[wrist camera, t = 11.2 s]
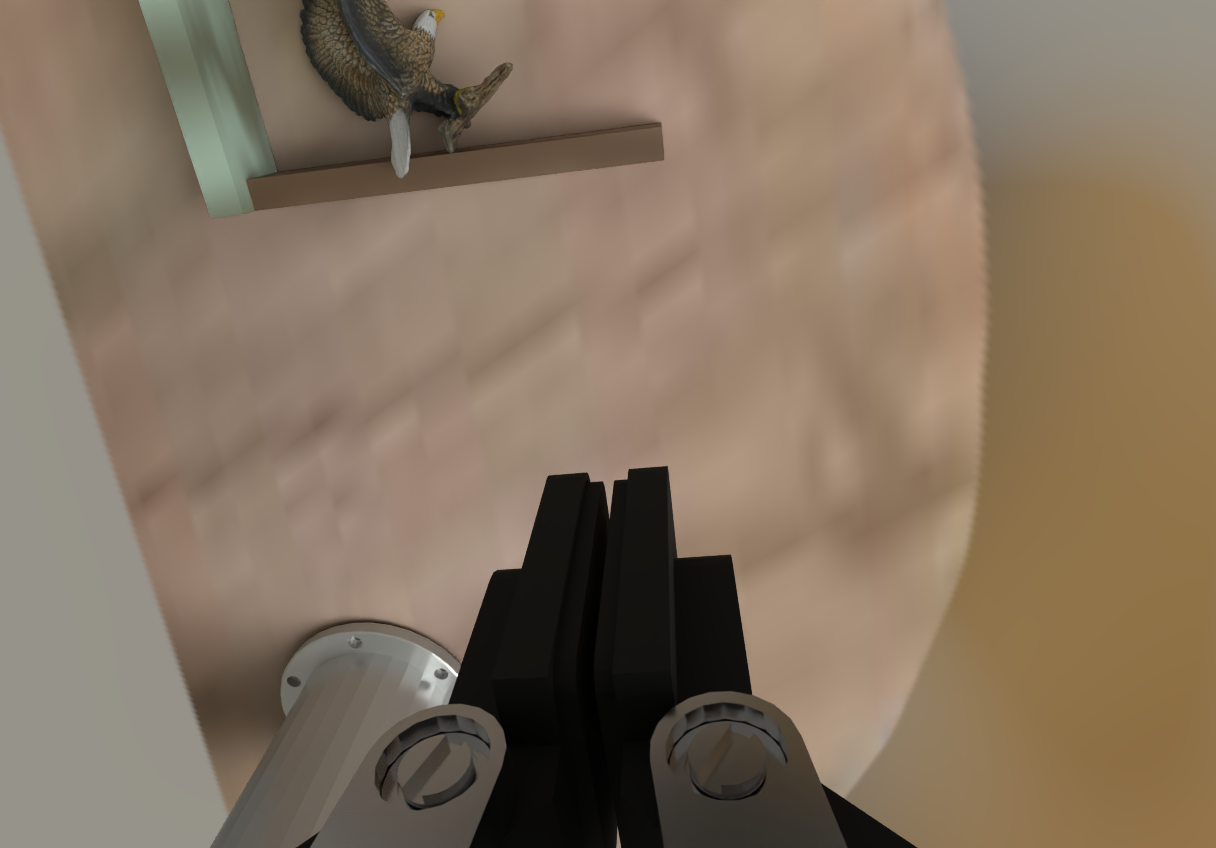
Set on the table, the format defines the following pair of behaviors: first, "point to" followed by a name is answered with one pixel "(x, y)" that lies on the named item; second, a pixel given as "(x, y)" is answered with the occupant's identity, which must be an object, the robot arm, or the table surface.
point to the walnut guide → (248, 179)
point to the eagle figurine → (389, 69)
